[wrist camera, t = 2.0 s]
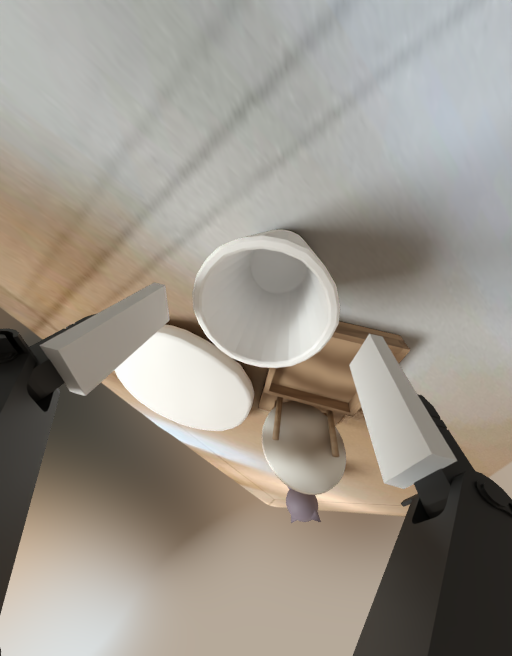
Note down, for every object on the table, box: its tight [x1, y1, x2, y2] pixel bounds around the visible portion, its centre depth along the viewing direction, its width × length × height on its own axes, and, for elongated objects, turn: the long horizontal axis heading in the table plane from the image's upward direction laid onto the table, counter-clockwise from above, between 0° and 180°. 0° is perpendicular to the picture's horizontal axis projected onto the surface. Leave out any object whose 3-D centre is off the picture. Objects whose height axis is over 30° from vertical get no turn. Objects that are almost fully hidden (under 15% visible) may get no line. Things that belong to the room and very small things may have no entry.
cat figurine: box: [286, 487, 321, 523], centre depth 45 cm, size 8×8×12 cm
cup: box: [193, 229, 340, 368], centre depth 18 cm, size 10×10×13 cm
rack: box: [258, 321, 410, 495], centre depth 27 cm, size 23×15×14 cm
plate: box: [115, 325, 254, 431], centre depth 37 cm, size 28×6×27 cm
